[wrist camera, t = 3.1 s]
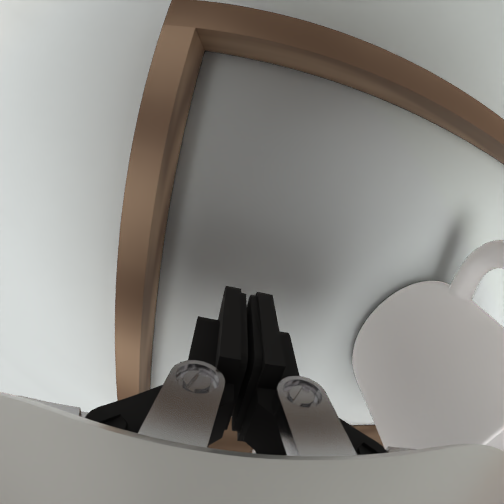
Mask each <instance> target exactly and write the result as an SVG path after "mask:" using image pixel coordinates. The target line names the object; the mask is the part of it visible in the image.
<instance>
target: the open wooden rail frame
mask: <svg viewBox="0 0 504 504" xmlns="http://www.w3.org/2000/svg"><path fill="white" fill-rule="evenodd" d="M205 51H210V52H217V53H223V54H229V55H234V56H239V57H244V58H249V59H254V60H259V61H263V62H267V63H272V64H276V65H280V66H284V67H287V68H291V69H295V70H298V71H302V72H305V73H309V74H312V75H316V76H319V77H322V78H325V79H328V80H331V81H334V82H337V83H340V84H343V85H346V86H349V87H352V88H354V89H357V90H360V91H362V92H365V93H368V94H370V95H373V96H375V97H378V98H380V99H383V100H385V101H387V102H390V103H392V104H394V105H397V106H399V107H401V108H403V109H406V110H408V111H410V112H412V113H414V114H416V115H418V116H420V117H423V118H425V119H427V120H429V121H431V122H433V123H435V124H437V125H438V126H440V127H442V128H444V129H446V130H448V131H450V132H452V133H453V134H455V135H457V136H459V137H461V138H462V139H464V140H466V141H468V142H469V143H471V144H473V145H474V146H476V147H478V148H479V149H481V150H482V151H484V152H486V153H487V154H489V155H490V156H492V157H494V158H495V159H497V160H498V161H500V162H501V163H503V164H504V119H502V118H501V117H500V116H498V115H497V114H496V113H494V112H493V111H492V110H490V109H489V108H487V107H486V106H485V105H483V104H482V103H480V102H479V101H477V100H476V99H474V98H473V97H471V96H470V95H468V94H467V93H465V92H463V91H462V90H460V89H459V88H457V87H455V86H454V85H452V84H450V83H449V82H447V81H445V80H444V79H442V78H440V77H438V76H437V75H435V74H433V73H431V72H429V71H428V70H426V69H424V68H422V67H420V66H418V65H416V64H414V63H412V62H410V61H408V60H406V59H404V58H402V57H400V56H398V55H396V54H393V53H391V52H389V51H387V50H385V49H382V48H380V47H378V46H375V45H373V44H371V43H368V42H366V41H363V40H361V39H358V38H355V37H353V36H350V35H347V34H345V33H342V32H339V31H336V30H333V29H330V28H327V27H324V26H321V25H317V24H314V23H311V22H307V21H304V20H300V19H297V18H293V17H289V16H285V15H281V14H277V13H273V12H268V11H263V10H259V9H254V8H248V7H243V6H237V5H230V4H224V3H216V2H208V1H199V0H172V1H171V4H170V6H169V9H168V12H167V15H166V18H165V21H164V24H163V27H162V30H161V33H160V36H159V39H158V42H157V45H156V49H155V52H154V55H153V59H152V62H151V66H150V69H149V73H148V77H147V81H146V85H145V88H144V92H143V97H142V101H141V105H140V109H139V114H138V118H137V123H136V128H135V133H134V138H133V143H132V149H131V154H130V160H129V166H128V172H127V178H126V185H125V192H124V200H123V208H122V216H121V225H120V235H119V247H118V260H117V276H116V299H115V361H116V384H117V399H118V401H119V400H122V399H125V398H128V397H131V396H133V395H136V394H139V393H142V392H145V391H147V390H150V380H151V362H152V347H153V334H154V323H155V312H156V302H157V292H158V284H159V275H160V267H161V260H162V252H163V245H164V238H165V231H166V225H167V219H168V212H169V206H170V201H171V195H172V189H173V184H174V178H175V173H176V168H177V163H178V158H179V153H180V148H181V144H182V139H183V134H184V130H185V125H186V121H187V117H188V113H189V108H190V104H191V100H192V96H193V92H194V88H195V84H196V81H197V77H198V73H199V69H200V66H201V62H202V59H203V55H204V52H205ZM352 427H354V428H356V429H357V430H359V431H360V432H362V433H363V434H365V435H367V436H368V437H370V438H372V439H373V440H375V441H377V442H378V443H379V444H381V445H382V446H383V443H382V441H381V438H380V436H379V433H378V431H377V428H376V426H375V425H357V426H352ZM383 447H384V446H383ZM208 448H213V449H220V450H228V451H236V452H245V453H250V449H251V447H250V446H249V445H248V444H247V443H246V442H243V441H237V431H232V417H231V419H230V422H229V426H228V429H227V430H224V433H223V437H222V438H221V439H219V440H217V441H216V442H214V443H212V444H210V445H209V446H208Z"/></svg>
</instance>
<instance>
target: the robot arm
mask: <svg viewBox="0 0 504 504" xmlns="http://www.w3.org/2000/svg"><path fill="white" fill-rule="evenodd" d="M231 416H232V431H237V441H243V442H246V443H247V444H248V445H249V446H250V447H251V449H250V453H245V452H236V451H228V450H220V449H213V448H208V446H209V445H210V444H212V443H214V442H216V441H217V440H219V439H221V438H222V437H223V433H224V430H227V429H228V426H229V422H230V419H231ZM0 504H504V452H503V451H502V450H500V449H498V448H495V447H492V446H487V445H481V444H454V445H446V446H438V447H431V448H424V449H409V448H399V447H390V446H388V447H387V448H386V449H385V448H384V447H383V446H382V445H381V444H379V443H378V442H377V441H375V440H373V439H372V438H370V437H368V436H367V435H365V434H363V433H362V432H360V431H359V430H357V429H356V428H354V427H352V426H351V425H349V424H348V423H346V422H345V421H343V420H341V419H340V418H338V416H337V414H336V412H335V410H334V408H333V406H332V404H331V402H330V400H329V398H328V396H327V394H326V392H325V391H324V389H323V388H322V387H321V386H320V385H319V384H318V383H317V382H315V381H313V380H311V379H309V378H305V377H301V376H299V372H298V368H297V364H296V359H295V355H294V351H293V347H292V342H291V338H290V335H289V333H286V332H280V331H279V327H278V322H277V317H276V311H275V306H274V301H273V296H272V295H270V294H265V293H259V292H257V293H256V295H255V296H254V295H250V297H249V301H248V304H247V305H246V294H244V293H241V289H239V288H234V287H229V286H226V287H225V291H224V295H223V300H222V304H221V309H220V314H219V318H218V320H213V319H208V318H203V317H199V316H198V318H197V323H196V327H195V331H194V336H193V340H192V345H191V349H190V354H189V359H188V360H187V361H183V362H180V363H178V364H176V365H175V366H174V367H173V368H172V369H171V371H170V373H169V375H168V377H167V378H166V380H165V382H164V384H163V385H161V386H158V387H156V388H153V389H150V390H147V391H145V392H142V393H139V394H136V395H133V396H131V397H128V398H125V399H122V400H119V401H116V402H113V403H110V404H107V405H104V406H101V407H98V408H96V409H94V410H91V411H90V412H89V413H88V412H81V410H80V407H73V406H67V405H62V404H56V403H51V402H46V401H41V400H37V399H32V398H28V397H24V396H17V395H11V394H7V393H3V392H0Z"/></svg>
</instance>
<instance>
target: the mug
mask: <svg viewBox="0 0 504 504" xmlns="http://www.w3.org/2000/svg"><path fill="white" fill-rule="evenodd" d="M496 268H503V269H504V240H496V241H491V242H488V243H485V244H483V245H482V246H480V247H478V248H477V249H476V250H475V251H473V252H472V253H471V254H470V255H469V256H468V257H467V258H466V260H465V261H464V262H463V263H462V265H461V266H460V268H459V270H458V271H457V273H456V275H455V277H454V279H453V281H452V283H451V285H450V284H447V283H445V282H441V281H423V282H418V283H415V284H411V285H409V286H407V287H404V288H402V289H401V290H399V291H397V292H395V293H394V294H392V295H391V296H390V297H388V298H387V299H386V300H385V301H383V302H382V303H381V304H380V305H379V306H378V307H377V308H376V309H375V310H374V311H373V312H372V313H371V315H370V316H369V317H368V318H367V320H366V321H365V323H364V324H363V326H362V328H361V330H360V332H359V333H358V336H357V338H356V341H355V345H354V349H353V355H352V365H353V370H354V374H355V378H356V381H357V383H358V386H359V388H360V390H361V393H362V395H363V397H364V400H365V402H366V404H367V407H368V409H369V411H370V414H371V416H372V419H373V421H374V423H375V426H376V428H377V431H378V433H379V436H380V438H381V441H382V443H383V446H384V448H385V449H386V448H387V447H388V446H390V447H399V448H409V449H424V448H431V447H438V446H446V445H454V444H481V445H487V446H492V447H495V448H498V449H500V450H502V451H503V452H504V327H503V326H502V325H500V324H499V323H498V322H497V321H496V320H495V319H494V318H492V317H491V316H490V315H489V314H488V313H487V312H485V311H484V310H483V309H482V308H481V307H479V306H478V305H477V304H476V303H475V302H474V301H472V298H473V296H474V293H475V291H476V289H477V287H478V285H479V283H480V281H481V280H482V278H483V277H484V275H485V274H486V273H488V272H489V271H491V270H493V269H496Z"/></svg>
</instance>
